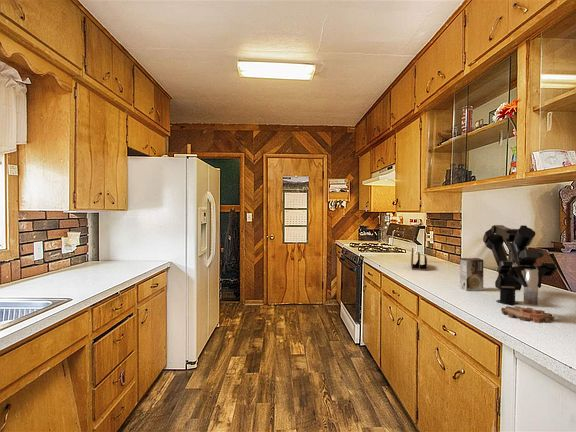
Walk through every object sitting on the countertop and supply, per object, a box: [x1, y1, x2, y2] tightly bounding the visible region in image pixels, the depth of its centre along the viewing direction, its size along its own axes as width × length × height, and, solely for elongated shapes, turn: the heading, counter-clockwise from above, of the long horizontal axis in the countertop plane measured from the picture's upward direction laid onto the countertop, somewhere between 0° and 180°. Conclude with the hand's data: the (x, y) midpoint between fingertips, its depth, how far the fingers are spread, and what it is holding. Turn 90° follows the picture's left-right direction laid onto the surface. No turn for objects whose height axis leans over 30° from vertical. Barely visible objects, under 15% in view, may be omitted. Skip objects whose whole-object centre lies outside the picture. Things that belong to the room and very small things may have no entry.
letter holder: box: [410, 247, 428, 272], centre depth 235 cm, size 10×20×14 cm, turn 161°
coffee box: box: [459, 257, 484, 292], centre depth 172 cm, size 9×6×16 cm
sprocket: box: [500, 305, 555, 323], centre depth 131 cm, size 16×16×3 cm
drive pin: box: [523, 268, 539, 306], centre depth 127 cm, size 4×4×13 cm
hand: (532, 287), depth 125 cm, fingers closed on drive pin, 4 cm apart
